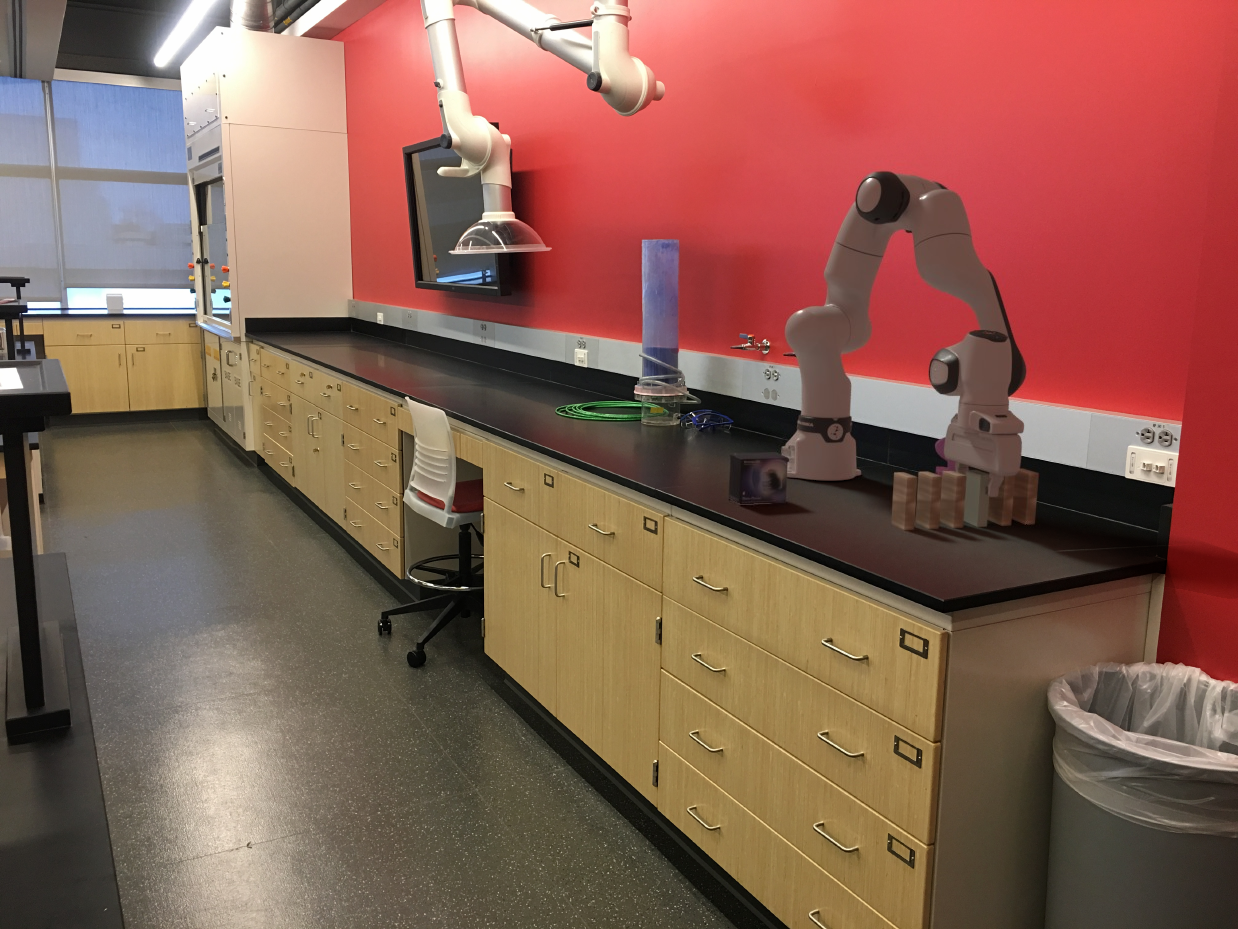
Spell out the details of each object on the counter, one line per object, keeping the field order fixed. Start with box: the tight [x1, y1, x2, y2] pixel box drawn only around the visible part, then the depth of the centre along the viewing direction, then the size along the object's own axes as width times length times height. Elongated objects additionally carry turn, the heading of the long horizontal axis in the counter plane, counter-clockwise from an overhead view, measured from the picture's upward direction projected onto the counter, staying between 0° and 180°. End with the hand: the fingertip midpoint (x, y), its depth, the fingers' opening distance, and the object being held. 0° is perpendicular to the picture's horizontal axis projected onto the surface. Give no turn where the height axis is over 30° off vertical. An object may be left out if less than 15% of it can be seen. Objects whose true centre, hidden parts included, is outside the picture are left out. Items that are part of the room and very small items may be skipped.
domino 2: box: [915, 471, 942, 530], centre depth 185 cm, size 2×5×10 cm, turn 12°
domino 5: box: [987, 475, 1015, 527], centre depth 188 cm, size 2×5×10 cm, turn 12°
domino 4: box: [964, 469, 990, 528], centre depth 187 cm, size 2×5×10 cm, turn 12°
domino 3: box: [939, 471, 967, 529], centre depth 186 cm, size 2×5×10 cm, turn 12°
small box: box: [728, 451, 788, 504], centre depth 203 cm, size 11×6×10 cm, turn 106°
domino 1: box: [890, 471, 918, 531], centre depth 184 cm, size 2×5×10 cm, turn 12°
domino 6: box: [1012, 468, 1040, 525], centre depth 189 cm, size 2×5×10 cm, turn 12°
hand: (977, 491), depth 187 cm, fingers open, 8 cm apart
